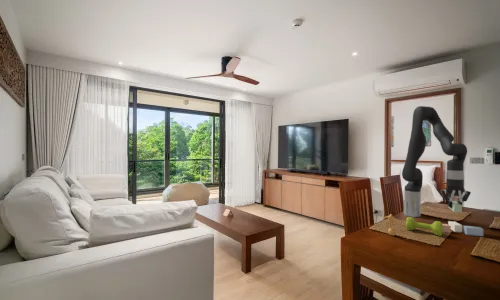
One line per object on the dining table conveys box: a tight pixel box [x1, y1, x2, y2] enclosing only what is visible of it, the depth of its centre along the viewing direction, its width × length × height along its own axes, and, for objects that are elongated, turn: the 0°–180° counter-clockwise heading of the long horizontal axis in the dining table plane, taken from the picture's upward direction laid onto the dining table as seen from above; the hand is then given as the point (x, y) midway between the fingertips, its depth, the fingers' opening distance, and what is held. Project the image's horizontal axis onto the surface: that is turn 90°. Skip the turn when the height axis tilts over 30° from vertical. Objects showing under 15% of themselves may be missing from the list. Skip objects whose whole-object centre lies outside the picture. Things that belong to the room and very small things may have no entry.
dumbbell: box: [405, 216, 444, 237], centre depth 128 cm, size 16×8×7 cm, turn 49°
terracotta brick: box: [442, 223, 452, 234], centre depth 129 cm, size 7×3×4 cm, turn 69°
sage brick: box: [447, 200, 463, 213], centre depth 131 cm, size 3×7×4 cm, turn 159°
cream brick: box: [447, 220, 463, 233], centre depth 131 cm, size 3×7×4 cm, turn 163°
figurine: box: [382, 213, 401, 236], centre depth 123 cm, size 8×6×12 cm
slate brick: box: [462, 225, 484, 237], centre depth 124 cm, size 7×3×4 cm, turn 70°
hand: (454, 207), depth 131 cm, fingers closed on sage brick, 3 cm apart
